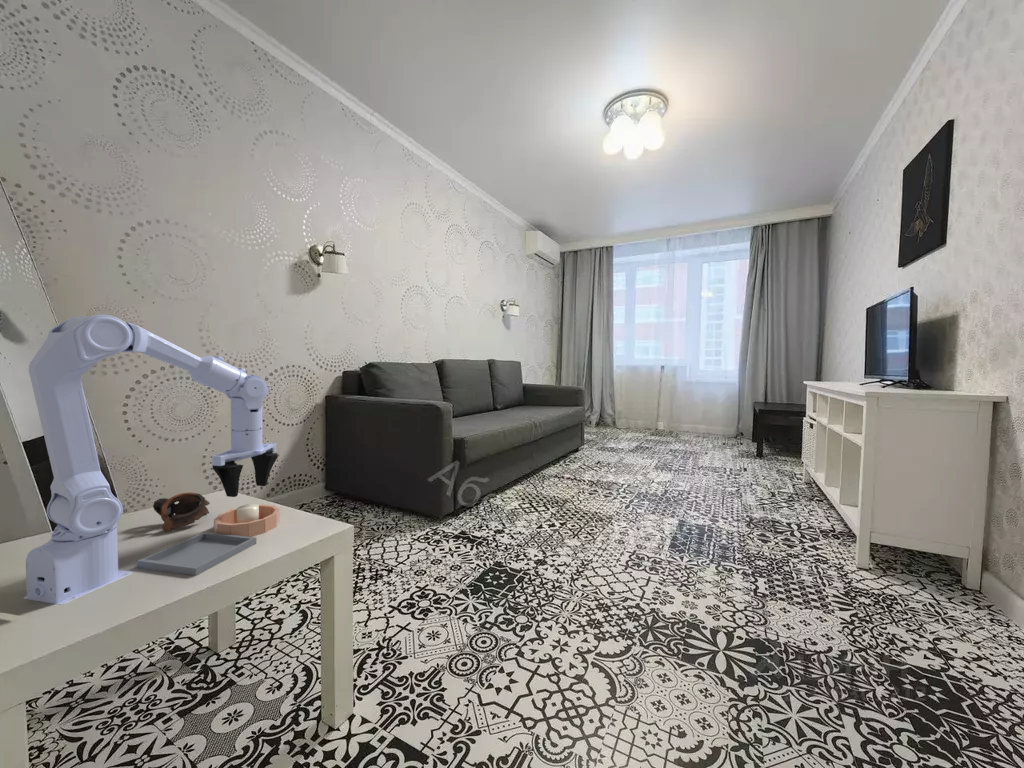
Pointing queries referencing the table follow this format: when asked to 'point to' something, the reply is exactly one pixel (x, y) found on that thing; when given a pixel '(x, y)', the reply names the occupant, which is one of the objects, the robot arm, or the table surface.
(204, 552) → the parts tray
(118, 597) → the table surface
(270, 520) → the terracotta bowl
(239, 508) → the cream rounded cylinder
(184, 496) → the broken clay pot
